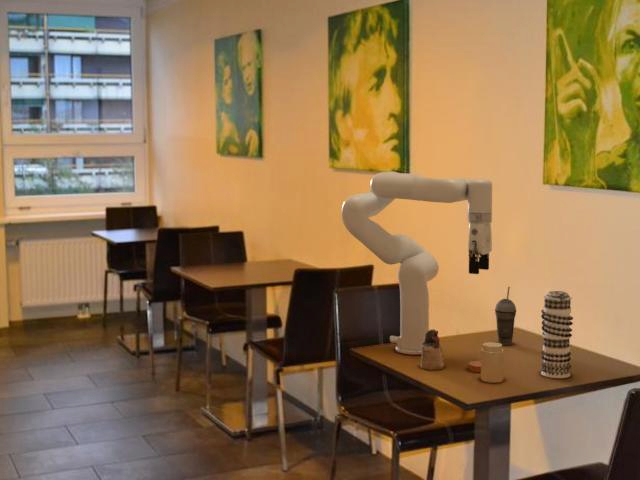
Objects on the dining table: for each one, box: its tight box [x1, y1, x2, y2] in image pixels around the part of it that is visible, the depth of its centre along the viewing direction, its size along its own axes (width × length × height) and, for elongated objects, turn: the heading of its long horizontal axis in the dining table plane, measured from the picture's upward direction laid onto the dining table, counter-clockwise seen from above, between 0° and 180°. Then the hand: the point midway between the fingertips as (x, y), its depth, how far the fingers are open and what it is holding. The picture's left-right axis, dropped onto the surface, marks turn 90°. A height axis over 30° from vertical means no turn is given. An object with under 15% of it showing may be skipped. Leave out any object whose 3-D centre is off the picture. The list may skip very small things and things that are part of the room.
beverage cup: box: [494, 286, 517, 346], centre depth 306 cm, size 7×7×20 cm
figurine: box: [419, 328, 445, 371], centre depth 277 cm, size 7×7×12 cm
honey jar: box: [480, 341, 505, 384], centre depth 263 cm, size 7×7×11 cm
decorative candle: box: [540, 290, 574, 379], centre depth 267 cm, size 9×9×25 cm
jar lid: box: [468, 360, 481, 374], centre depth 274 cm, size 7×7×2 cm
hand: (478, 271), depth 284 cm, fingers open, 9 cm apart
